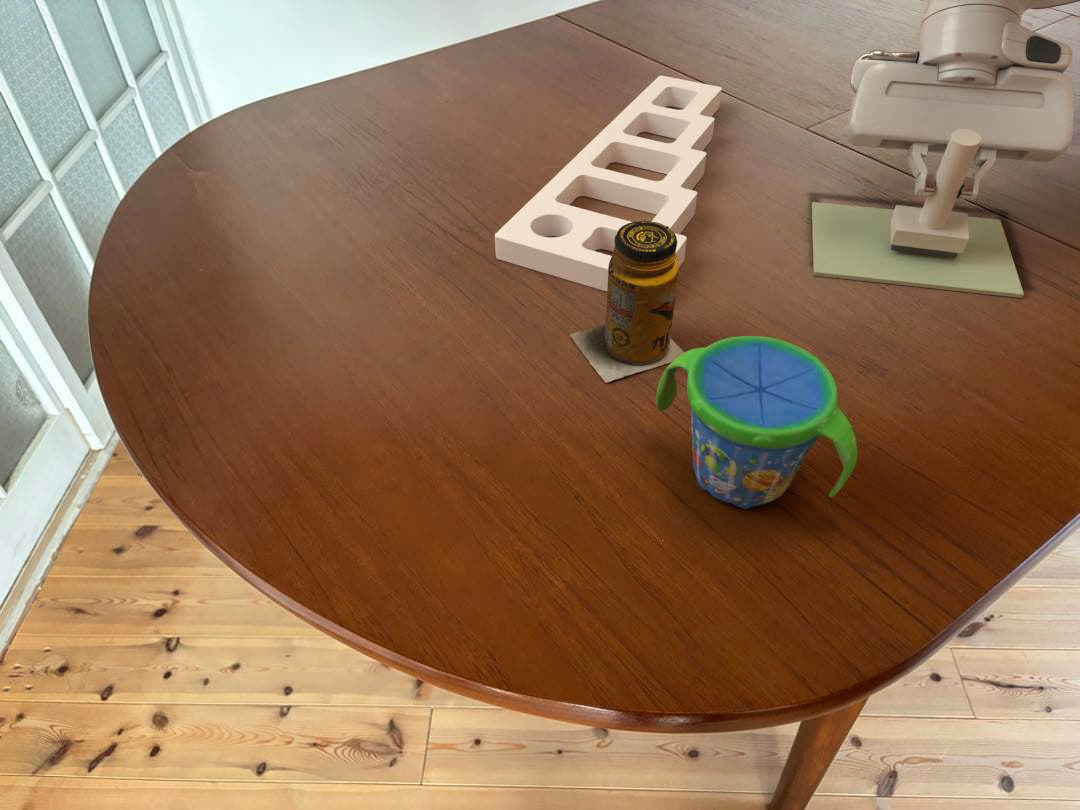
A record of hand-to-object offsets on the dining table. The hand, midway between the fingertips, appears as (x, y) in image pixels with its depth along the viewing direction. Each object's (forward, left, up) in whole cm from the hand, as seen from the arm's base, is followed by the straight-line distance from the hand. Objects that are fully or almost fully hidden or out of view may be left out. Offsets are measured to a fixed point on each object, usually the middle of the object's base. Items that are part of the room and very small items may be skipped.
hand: (945, 196), depth 83 cm
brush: (0, -2, -7) cm, 7 cm away
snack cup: (+17, +33, -8) cm, 38 cm away
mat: (+1, -3, -8) cm, 8 cm away
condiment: (+28, +19, -8) cm, 35 cm away
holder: (+29, -12, -8) cm, 32 cm away
